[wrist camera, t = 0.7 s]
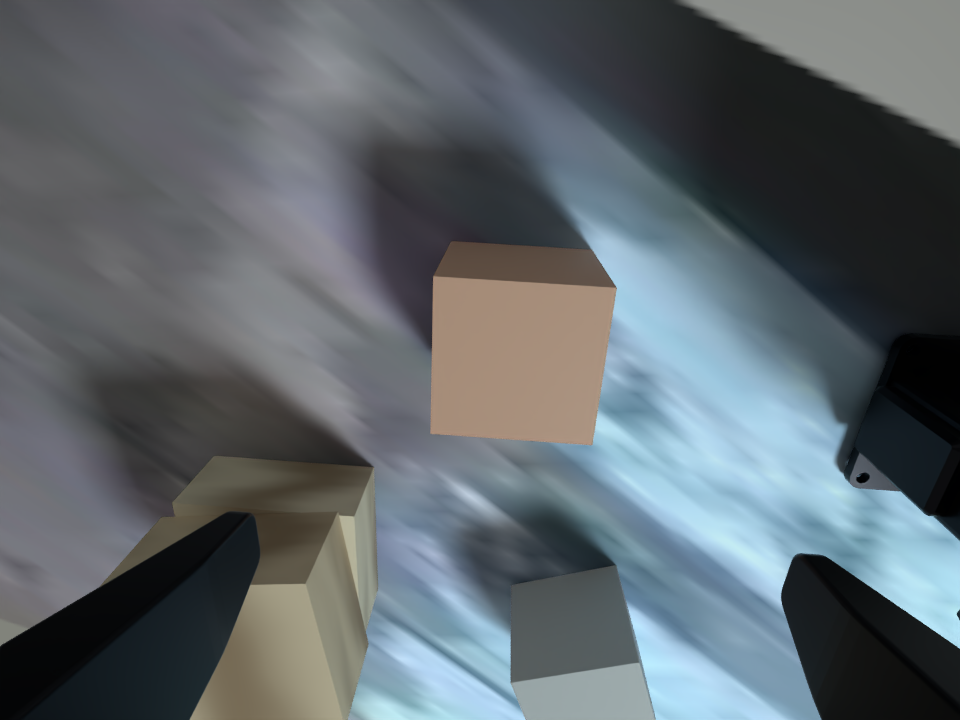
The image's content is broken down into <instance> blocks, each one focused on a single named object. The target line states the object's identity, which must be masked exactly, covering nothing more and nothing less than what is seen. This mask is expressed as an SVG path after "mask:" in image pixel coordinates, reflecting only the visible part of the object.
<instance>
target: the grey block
mask: <svg viewBox="0 0 960 720" xmlns="http://www.w3.org/2000/svg"><path fill="white" fill-rule="evenodd" d="M511 685H512V687H513V690H514V692H515V695H516V697H517V700H518V702H519V704H520V707H521V709H522V712H523V714H524V717H525V719H526V720H656V718H655V714H654V710H653V706H652V702H651V698H650V694H649V690H648V685H647V681H646V677H645V673H644V669H643V665H642V661H641V657H640V652H639V648H638V644H637V640H636V636H635V633H634V629H633V625H632V622H631V618H630V614H629V611H628V607H627V603H626V600H625V596H624V592H623V589H622V585H621V581H620V577H619V574H618V570H617V566H616V565H614V566H609V567H603V568H598V569H593V570H587V571H582V572H577V573H572V574H566V575H561V576H556V577H551V578H545V579H540V580H535V581H529V582H524V583H519V584H514V585H511Z"/></svg>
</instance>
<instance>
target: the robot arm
mask: <svg viewBox="0 0 960 720" xmlns="http://www.w3.org/2000/svg"><path fill="white" fill-rule="evenodd" d="M912 344H914V347H913V349H912V350H911V351H909V352H906V351H907V349H908V347H909V346H911V345H912ZM861 473H863V474H862V475H861V476H859V477H857V476H858V475H859V474H861ZM844 476H845V479H846V480H847V481H848V482H849V483H850V484H851V485H852V486H853V487H856V488H862V489H876V490H890V491H901V492H902V493H903V494H904V495H905V496H906V497H907V498H908V499H909V500H910V501H911V502H913V503H914V504H915V505H916V506H917V507H918V508H919V509H920V510H921V511H922V512H923V513H924V514H926V515H928V516H933V517H935V518H936V519H937V520H938V521H939V522H940V523H941V524H942V525H943V526H944V527H945V528H946V529H947V530H949V531H950V532H951V533H952V534H953V535H954V536H955V537H956V538H957V539H958V540H959V541H960V336H945V335H929V334H914V333H910V334H905V335H902V336H900V337H899V338H898V339H897V340H895V342H894V344H893V346H892V348H891V351H890V353H889V356H888V359H887V361H886V364H885V366H884V369H883V372H882V374H881V377H880V380H879V382H878V385H877V387H876V390H875V392H874V394H873V396H872V399H871V402H870V404H869V407H868V410H867V412H866V415H865V417H864V420H863V423H862V425H861V428H860V431H859V433H858V436H857V438H856V441H855V444H854V448H853V450H852V453H851V456H850V458H849V461H848V463H847V466H846V469H845V472H844ZM259 560H260V543H259V537H258V531H257V524H256V519H255V516H254V515H253V514H252V513H250V512H241V511H228V512H226V513H224V514H222V515H220V516H219V517H217V518H215V519H214V520H212V521H210V522H209V523H207V524H205V525H204V526H202V527H200V528H198V529H197V530H195V531H193V532H192V533H190V534H188V535H187V536H185V537H183V538H182V539H180V540H178V541H177V542H175V543H173V544H171V545H170V546H168V547H166V548H165V549H163V550H161V551H160V552H158V553H156V554H155V555H153V556H151V557H150V558H148V559H146V560H144V561H143V562H141V563H139V564H138V565H136V566H134V567H133V568H131V569H129V570H128V571H126V572H124V573H123V574H121V575H119V576H117V577H116V578H114V579H112V580H111V581H109V582H107V583H106V584H104V585H102V586H101V587H99V588H97V589H95V590H94V591H92V592H90V593H89V594H87V595H85V596H84V597H82V598H80V599H79V600H77V601H75V602H74V603H72V604H70V605H68V606H67V607H65V608H63V609H62V610H60V611H58V612H57V613H55V614H53V615H52V616H50V617H48V618H46V619H45V620H43V621H41V622H40V623H38V624H36V625H35V626H33V627H31V628H30V629H28V630H26V631H24V632H23V633H21V634H19V635H18V636H16V637H14V638H13V639H11V640H9V641H8V642H6V643H4V644H2V645H1V646H0V720H190V718H191V716H192V714H193V712H194V711H195V709H196V707H197V705H198V703H199V701H200V699H201V697H202V695H203V693H204V691H205V689H206V687H207V685H208V683H209V681H210V679H211V677H212V675H213V673H214V671H215V669H216V667H217V665H218V663H219V661H220V659H221V657H222V655H223V653H224V651H225V648H226V646H227V644H228V641H229V639H230V636H231V634H232V631H233V629H234V626H235V623H236V621H237V618H238V616H239V613H240V611H241V608H242V605H243V603H244V600H245V598H246V595H247V592H248V590H249V587H250V585H251V582H252V580H253V577H254V574H255V572H256V569H257V567H258V564H259ZM781 601H782V606H783V609H784V612H785V615H786V618H787V621H788V625H789V628H790V631H791V634H792V637H793V640H794V643H795V646H796V649H797V652H798V655H799V658H800V661H801V664H802V667H803V671H804V674H805V677H806V680H807V683H808V686H809V689H810V691H811V694H812V697H813V700H814V702H815V705H816V707H817V710H818V712H819V715H820V717H821V719H822V720H960V649H959V648H958V647H956V646H955V645H954V644H952V643H951V642H949V641H948V640H946V639H945V638H943V637H942V636H941V635H939V634H938V633H936V632H935V631H933V630H932V629H930V628H929V627H927V626H926V625H925V624H923V623H922V622H920V621H919V620H917V619H916V618H914V617H913V616H912V615H910V614H909V613H907V612H906V611H904V610H903V609H901V608H900V607H898V606H897V605H896V604H894V603H893V602H891V601H890V600H888V599H887V598H885V597H884V596H883V595H881V594H880V593H878V592H877V591H875V590H874V589H872V588H871V587H869V586H868V585H867V584H865V583H864V582H862V581H861V580H859V579H858V578H856V577H855V576H854V575H852V574H851V573H849V572H848V571H846V570H845V569H843V568H842V567H840V566H839V565H838V564H836V563H835V562H833V561H832V560H830V559H829V558H827V557H826V556H823V555H818V554H804V553H800V554H797V555H795V556H794V557H793V559H792V562H791V565H790V567H789V570H788V573H787V576H786V579H785V582H784V585H783V588H782V593H781ZM957 616H958V618H959V620H960V610H959V611H958V612H957Z"/></svg>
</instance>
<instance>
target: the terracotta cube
mask: <svg viewBox="0 0 960 720" xmlns="http://www.w3.org/2000/svg"><path fill="white" fill-rule="evenodd" d="M616 289H617V288H616V286H615V284H614V283H613V281H612V280H611V278H610V277H609V275H608V274H607V272H606V271H605V269H604V268H603V266H602V264H601V263H600V261H599V260H598V258H597V257H596V255H595V254H594V252H593V251H592V250H589V249H572V248H556V247H540V246H523V245H507V244H491V243H474V242H458V241H451V242H450V244H449V246H448V248H447V250H446V252H445V254H444V256H443V258H442V260H441V262H440V264H439V266H438V268H437V270H436V272H435V274H434V276H433V321H432V382H431V434H442V435H456V436H470V437H484V438H498V439H512V440H526V441H540V442H555V443H569V444H583V445H592V443H593V437H594V431H595V424H596V418H597V411H598V405H599V398H600V392H601V386H602V379H603V373H604V366H605V360H606V353H607V347H608V341H609V334H610V328H611V321H612V315H613V308H614V302H615V296H616Z"/></svg>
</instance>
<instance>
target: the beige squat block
mask: <svg viewBox="0 0 960 720" xmlns="http://www.w3.org/2000/svg"><path fill="white" fill-rule="evenodd" d="M253 515H254V516H255V519H256V524H257V531H258V537H259V543H260V560H259V564H258V567H257V569H256V572H255V574H254V577H253V580H252V582H251V585H250V587H249V590H248V592H247V595H246V598H245V600H244V603H243V605H242V608H241V611H240V613H239V616H238V618H237V621H236V623H235V626H234V629H233V631H232V634H231V636H230V639H229V641H228V644H227V646H226V648H225V651H224V653H223V655H222V657H221V659H220V661H219V663H218V665H217V667H216V669H215V671H214V673H213V675H212V677H211V679H210V681H209V683H208V685H207V687H206V689H205V691H204V693H203V695H202V697H201V699H200V701H199V703H198V705H197V707H196V709H195V711H194V712H193V714H192V716H191V718H190V720H348V716H349V713H350V709H351V705H352V702H353V698H354V695H355V691H356V687H357V684H358V680H359V677H360V673H361V669H362V666H363V662H364V658H365V655H366V651H367V648H368V639H367V635H366V631H365V626H364V622H363V618H362V613H361V609H360V605H359V600H358V596H357V591H356V587H355V583H354V578H353V574H352V570H351V565H350V561H349V557H348V552H347V548H346V544H345V539H344V535H343V531H342V526H341V522H340V517H339V513H338V511H337V512H305V513H274V514H253ZM219 516H220V515H211V516H180V517H161V518H160V519H159V520H158V522H157V523H156V524H155V525H154V526H153V527H152V528H151V529H150V531H149V532H148V533H147V534H146V535H145V536H144V537H143V538H142V540H141V541H140V542H139V543H138V544H137V545H136V546H135V547H134V549H133V550H132V551H131V552H130V553H129V554H128V555H127V556H126V558H125V559H124V560H123V561H122V562H121V563H120V564H119V565H118V567H117V568H116V569H115V570H114V571H113V572H112V573H111V574H110V576H109V577H108V578H107V579H106V580H105V581H104V582H103V583H102V585H104V584H106V583H107V582H109V581H111V580H112V579H114V578H116V577H117V576H119V575H121V574H123V573H124V572H126V571H128V570H129V569H131V568H133V567H134V566H136V565H138V564H139V563H141V562H143V561H144V560H146V559H148V558H150V557H151V556H153V555H155V554H156V553H158V552H160V551H161V550H163V549H165V548H166V547H168V546H170V545H171V544H173V543H175V542H177V541H178V540H180V539H182V538H183V537H185V536H187V535H188V534H190V533H192V532H193V531H195V530H197V529H198V528H200V527H202V526H204V525H205V524H207V523H209V522H210V521H212V520H214V519H215V518H217V517H219ZM102 585H101V586H102ZM101 586H100V587H101Z"/></svg>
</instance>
